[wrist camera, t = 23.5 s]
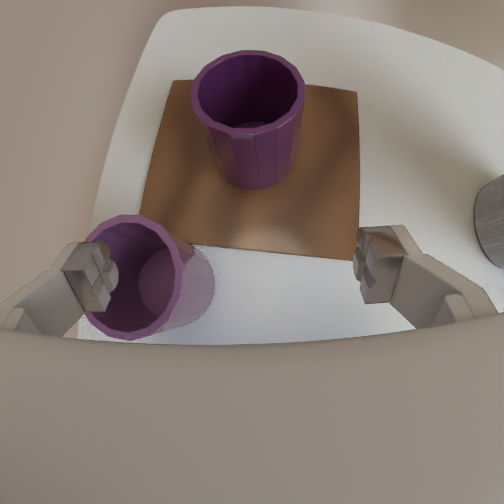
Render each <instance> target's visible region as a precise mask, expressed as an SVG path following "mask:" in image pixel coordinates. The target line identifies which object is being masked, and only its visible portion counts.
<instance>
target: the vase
mask: <svg viewBox="0 0 504 504" xmlns="http://www.w3.org/2000/svg"><path fill="white" fill-rule="evenodd" d="M474 215H475V226H476V231H477V235H478V238H479V241H480V244H481V246H482V248H483V250H484V252H485V253H486V255H487V256H488V258H489V259H490V260H491V261H492V262H493V263H494V264H495V265H496V266H498V267H500V268H502V269H504V174H503V175H501V176H500V177H498V178H496V179H495V180H493V181H491V182H490V183H489V184H487V185H486V186H485V187H483V188H482V190H481V191H480V192H479V194H478V197H477V199H476V203H475V213H474Z"/></svg>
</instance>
